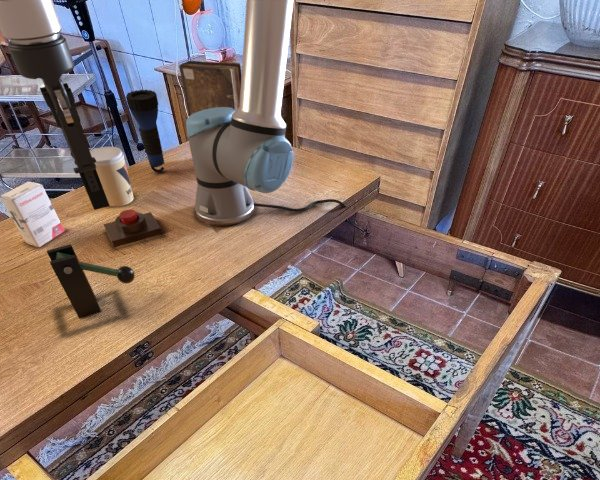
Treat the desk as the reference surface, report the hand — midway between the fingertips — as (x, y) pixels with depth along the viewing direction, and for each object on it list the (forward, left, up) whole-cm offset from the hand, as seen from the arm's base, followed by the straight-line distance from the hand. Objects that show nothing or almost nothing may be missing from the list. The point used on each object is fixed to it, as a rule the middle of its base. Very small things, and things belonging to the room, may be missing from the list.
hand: (101, 206), depth 78 cm
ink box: (+14, -36, -20) cm, 43 cm away
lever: (+6, 0, -13) cm, 14 cm away
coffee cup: (-7, -46, -20) cm, 51 cm away
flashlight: (-22, -57, -20) cm, 64 cm away
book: (-41, -54, -20) cm, 71 cm away
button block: (-6, -26, -20) cm, 33 cm away
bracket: (+10, 0, -20) cm, 22 cm away
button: (-6, -26, -17) cm, 31 cm away
